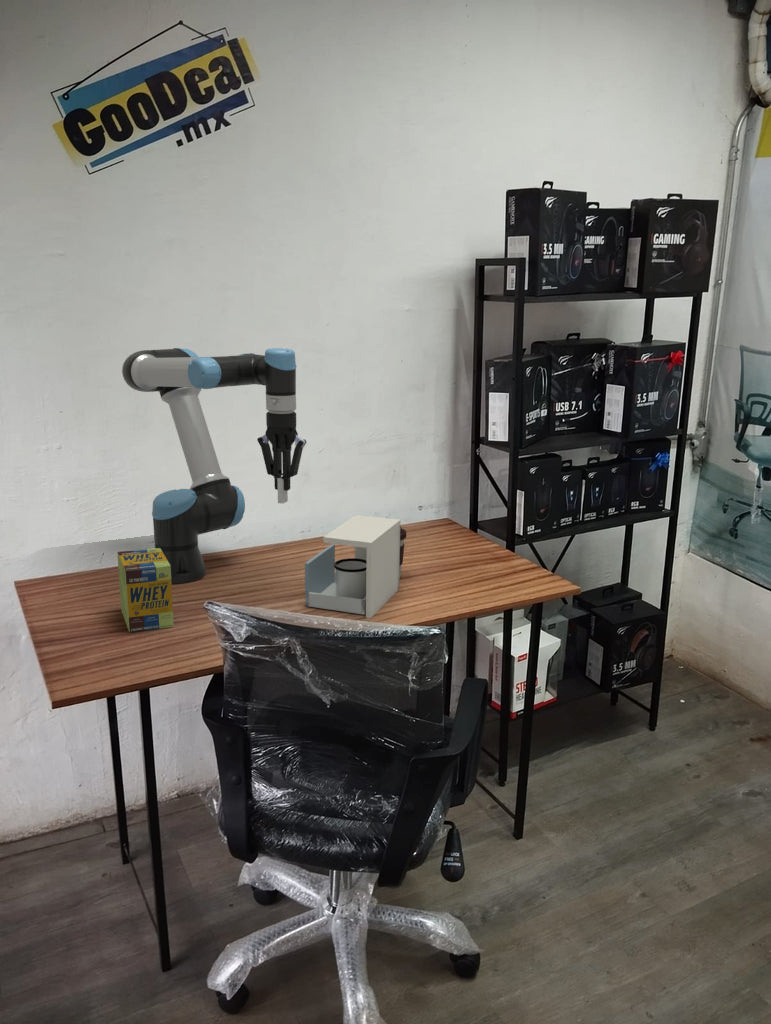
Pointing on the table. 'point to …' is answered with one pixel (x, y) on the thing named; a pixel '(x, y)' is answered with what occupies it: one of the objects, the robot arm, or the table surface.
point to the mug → (351, 578)
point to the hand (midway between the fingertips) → (282, 502)
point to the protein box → (145, 589)
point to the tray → (327, 585)
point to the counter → (373, 555)
